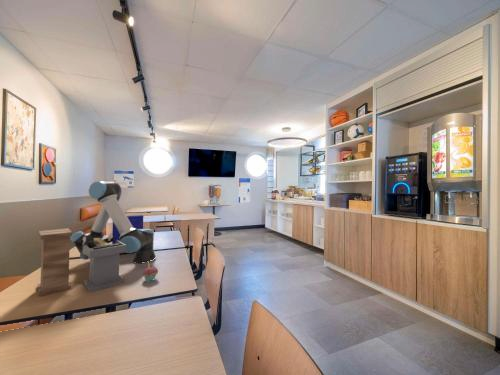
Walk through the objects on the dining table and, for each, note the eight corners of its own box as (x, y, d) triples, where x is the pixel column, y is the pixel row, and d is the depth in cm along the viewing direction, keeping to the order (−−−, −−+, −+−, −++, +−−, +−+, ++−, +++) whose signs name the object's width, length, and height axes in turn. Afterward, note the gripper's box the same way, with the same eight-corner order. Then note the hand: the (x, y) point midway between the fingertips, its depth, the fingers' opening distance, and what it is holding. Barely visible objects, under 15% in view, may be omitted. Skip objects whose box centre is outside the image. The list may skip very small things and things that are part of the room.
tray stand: (82, 283, 120) (83, 245, 120) (116, 274, 132) (117, 240, 132) (88, 292, 110) (89, 250, 110) (125, 282, 122) (126, 244, 122)
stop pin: (84, 244, 129) (84, 239, 129) (107, 241, 138) (107, 236, 138) (94, 253, 113) (94, 248, 113) (120, 249, 122) (120, 244, 122)
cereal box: (141, 249, 186) (142, 214, 186) (142, 250, 181) (143, 215, 181) (111, 252, 174) (112, 215, 174) (111, 254, 169) (112, 216, 169)
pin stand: (37, 286, 114) (38, 230, 114) (66, 280, 123) (68, 228, 123) (39, 296, 105) (40, 235, 105) (70, 288, 114) (72, 232, 114)
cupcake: (151, 283, 121) (152, 262, 121) (138, 282, 123) (139, 261, 123) (160, 277, 130) (161, 257, 130) (148, 276, 132) (148, 256, 132)
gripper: (113, 249, 150) (122, 239, 138) (67, 257, 132) (73, 246, 119) (111, 239, 153) (120, 228, 140) (66, 246, 134) (72, 234, 122)
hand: (98, 236), depth 130 cm, fingers open, 13 cm apart
